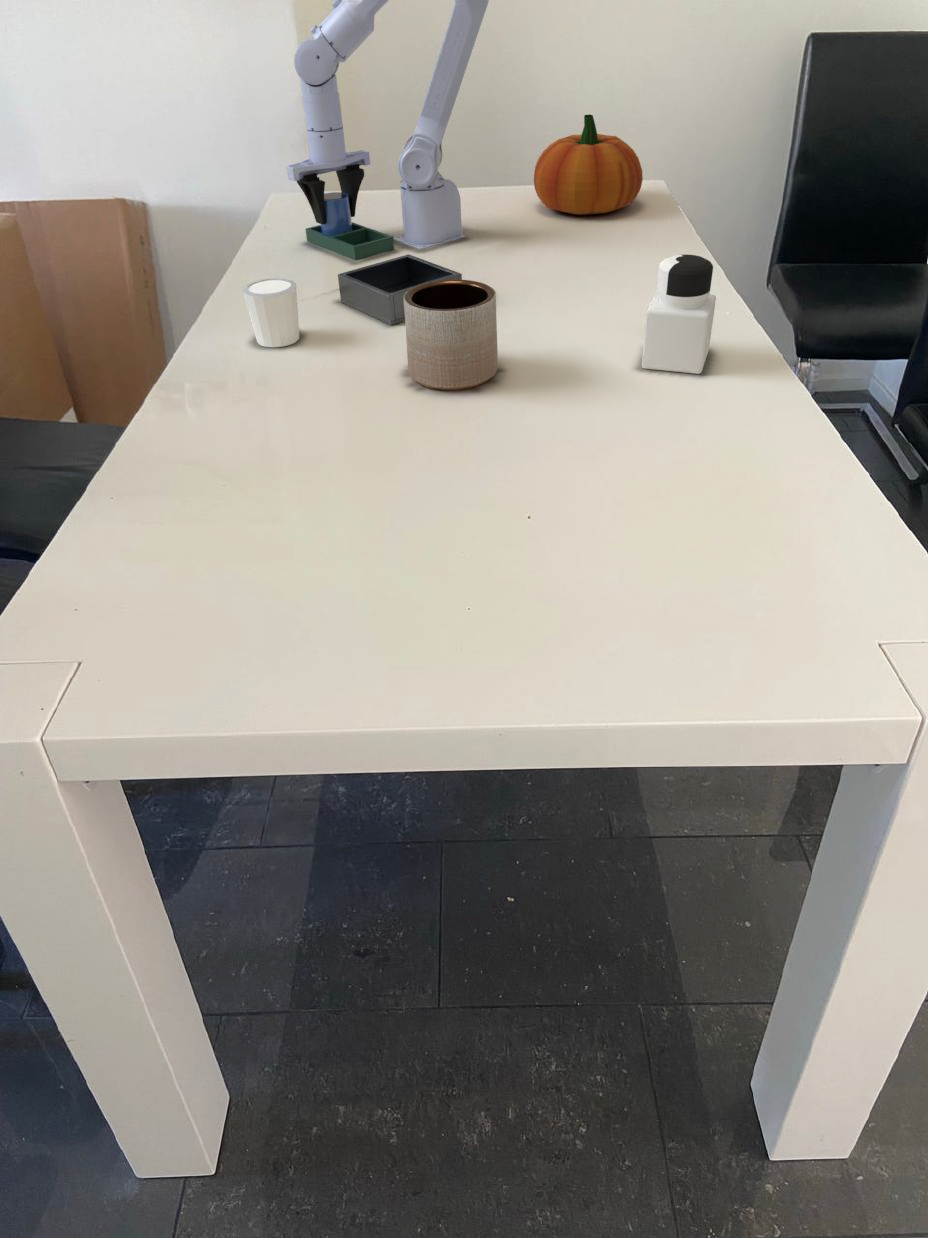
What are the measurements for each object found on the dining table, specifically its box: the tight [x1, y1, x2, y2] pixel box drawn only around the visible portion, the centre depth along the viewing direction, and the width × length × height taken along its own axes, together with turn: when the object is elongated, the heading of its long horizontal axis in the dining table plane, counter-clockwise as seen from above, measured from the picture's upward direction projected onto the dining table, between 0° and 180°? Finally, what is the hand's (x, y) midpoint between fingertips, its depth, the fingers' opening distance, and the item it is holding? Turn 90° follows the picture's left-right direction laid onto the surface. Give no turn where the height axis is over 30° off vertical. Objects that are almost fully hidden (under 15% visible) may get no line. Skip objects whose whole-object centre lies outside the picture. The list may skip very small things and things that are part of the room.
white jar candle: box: [242, 277, 300, 348], centre depth 118 cm, size 7×7×7 cm
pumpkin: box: [533, 114, 644, 216], centre depth 159 cm, size 19×19×15 cm
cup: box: [320, 191, 353, 236], centre depth 150 cm, size 5×5×7 cm
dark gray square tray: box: [337, 253, 463, 326], centre depth 128 cm, size 13×13×4 cm
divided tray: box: [305, 221, 395, 261], centre depth 149 cm, size 8×15×2 cm, turn 39°
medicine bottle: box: [641, 254, 717, 375], centre depth 106 cm, size 7×7×12 cm
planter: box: [404, 279, 499, 391], centre depth 106 cm, size 11×11×10 cm
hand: (335, 219), depth 150 cm, fingers closed on cup, 5 cm apart
